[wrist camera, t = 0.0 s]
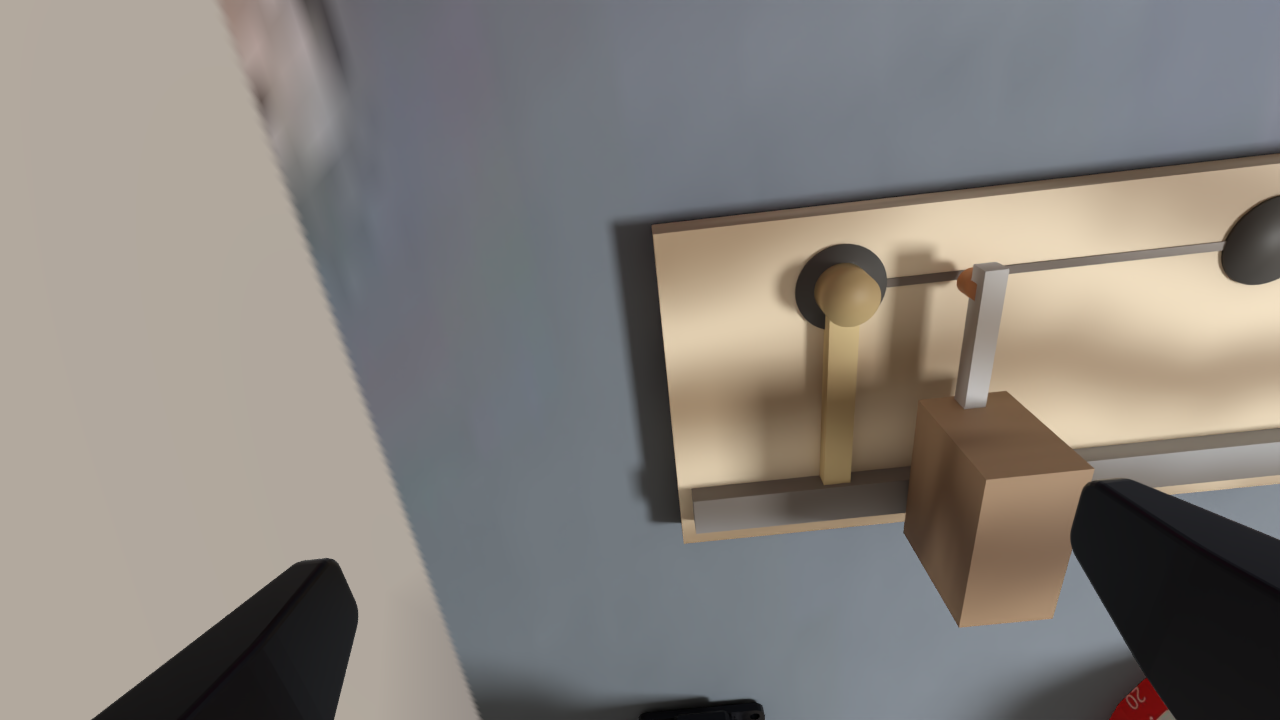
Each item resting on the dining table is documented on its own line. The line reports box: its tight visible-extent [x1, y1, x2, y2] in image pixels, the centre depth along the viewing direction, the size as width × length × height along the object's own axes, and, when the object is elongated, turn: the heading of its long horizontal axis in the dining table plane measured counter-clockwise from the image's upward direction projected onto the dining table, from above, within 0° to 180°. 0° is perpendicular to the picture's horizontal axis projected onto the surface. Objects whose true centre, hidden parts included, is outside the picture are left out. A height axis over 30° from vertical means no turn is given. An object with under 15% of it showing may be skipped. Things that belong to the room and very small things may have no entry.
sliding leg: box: [904, 262, 1095, 627], centre depth 20 cm, size 11×3×5 cm, turn 6°
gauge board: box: [652, 153, 1280, 544], centre depth 22 cm, size 13×25×2 cm, turn 96°
